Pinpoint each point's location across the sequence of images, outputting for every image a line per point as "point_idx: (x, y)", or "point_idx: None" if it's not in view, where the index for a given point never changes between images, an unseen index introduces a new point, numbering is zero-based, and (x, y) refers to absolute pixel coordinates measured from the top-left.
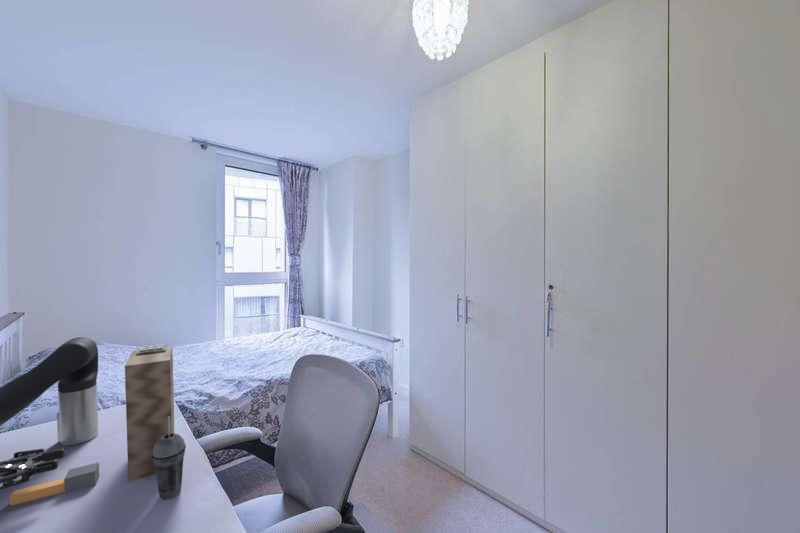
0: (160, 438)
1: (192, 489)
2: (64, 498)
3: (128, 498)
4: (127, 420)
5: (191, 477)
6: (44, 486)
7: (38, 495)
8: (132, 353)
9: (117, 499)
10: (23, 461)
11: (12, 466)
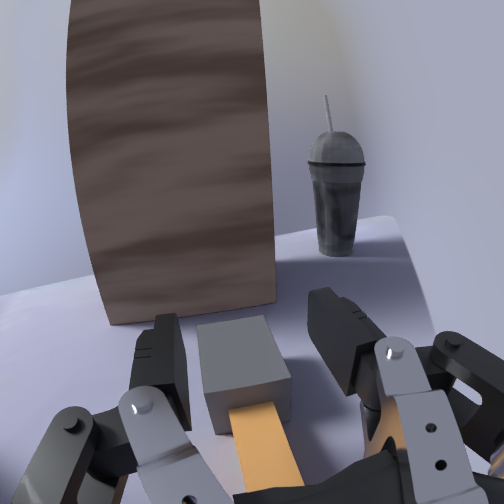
0: (338, 135)
1: None
2: (322, 405)
3: (343, 284)
4: (266, 111)
5: (291, 243)
6: (277, 469)
7: None
8: None
9: (345, 297)
10: (274, 490)
11: (445, 459)
